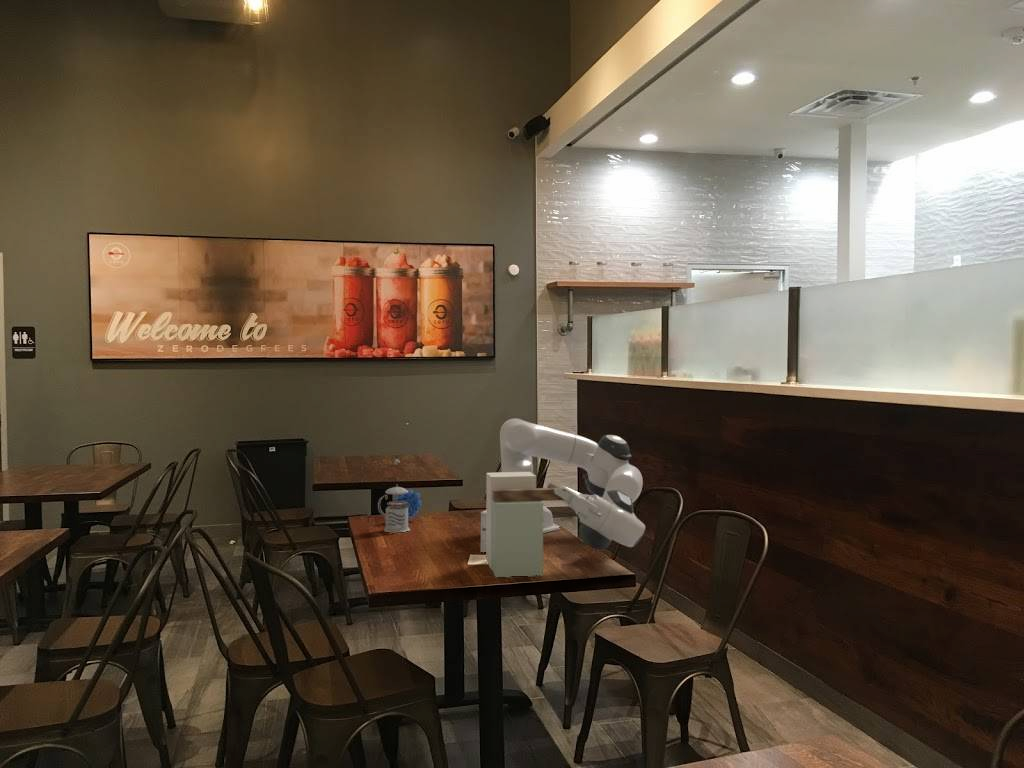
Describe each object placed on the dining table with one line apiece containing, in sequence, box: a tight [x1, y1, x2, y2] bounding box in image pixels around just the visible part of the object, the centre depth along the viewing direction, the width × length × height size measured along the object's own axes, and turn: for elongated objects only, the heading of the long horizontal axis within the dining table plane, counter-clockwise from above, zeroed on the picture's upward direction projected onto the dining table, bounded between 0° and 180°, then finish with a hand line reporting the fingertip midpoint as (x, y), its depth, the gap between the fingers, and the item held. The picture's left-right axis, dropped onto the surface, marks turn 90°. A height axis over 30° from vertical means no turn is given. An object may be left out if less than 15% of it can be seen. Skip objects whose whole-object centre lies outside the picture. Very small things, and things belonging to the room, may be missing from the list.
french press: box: [377, 459, 411, 533], centre depth 269 cm, size 10×12×25 cm
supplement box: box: [480, 509, 486, 553], centre depth 238 cm, size 7×7×13 cm
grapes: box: [392, 488, 423, 522], centre depth 286 cm, size 12×7×12 cm, turn 108°
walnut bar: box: [493, 487, 566, 502], centre depth 214 cm, size 20×3×3 cm, turn 99°
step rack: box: [485, 471, 544, 578], centre depth 218 cm, size 13×19×26 cm
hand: (551, 487), depth 214 cm, fingers open, 8 cm apart
